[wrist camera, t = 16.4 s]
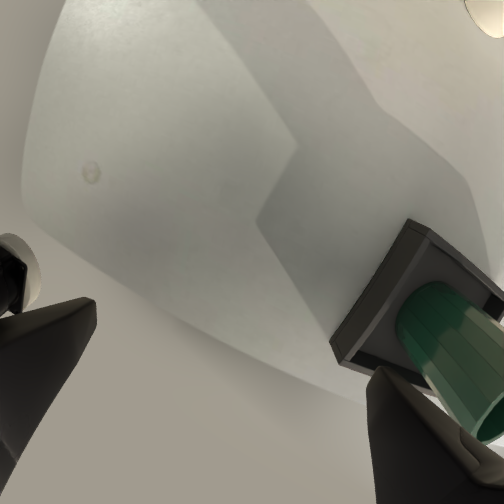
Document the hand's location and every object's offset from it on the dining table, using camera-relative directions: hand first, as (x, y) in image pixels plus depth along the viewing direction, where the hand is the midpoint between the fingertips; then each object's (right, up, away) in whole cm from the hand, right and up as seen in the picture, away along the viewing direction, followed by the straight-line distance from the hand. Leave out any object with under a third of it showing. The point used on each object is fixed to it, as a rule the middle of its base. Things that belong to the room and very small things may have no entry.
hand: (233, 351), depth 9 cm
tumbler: (+15, -2, +14) cm, 20 cm away
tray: (+15, -2, +14) cm, 21 cm away
